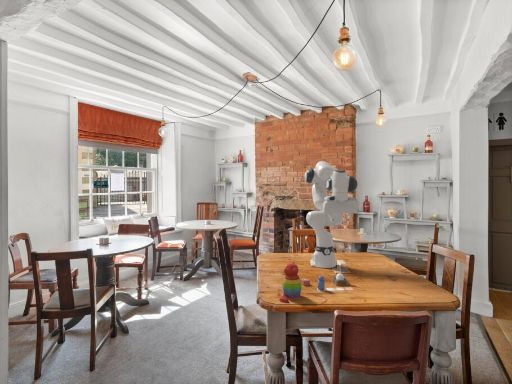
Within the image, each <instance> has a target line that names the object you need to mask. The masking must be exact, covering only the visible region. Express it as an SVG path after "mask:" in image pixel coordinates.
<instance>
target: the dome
mask: <svg viewBox="0 0 512 384" xmlns="http://www.w3.org/2000/svg"><path fill="white" fill-rule="evenodd" d="M335 277H336V280H344V277H345V276H344V274H343V273H340V272H339V273H337V274H336V276H335Z"/></svg>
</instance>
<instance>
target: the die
mask: <svg viewBox="0 0 512 384" xmlns="http://www.w3.org/2000/svg"><path fill="white" fill-rule="evenodd" d="M300 280H301V285H302V287H307V286H310V285H311V280H310V279H309V278H307V277H306V278H305V277H304V278H300Z"/></svg>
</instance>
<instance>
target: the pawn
mask: <svg viewBox="0 0 512 384" xmlns="http://www.w3.org/2000/svg"><path fill="white" fill-rule="evenodd" d="M325 282H326V281H325V278H324V275H319V276H318V278H317V288H318V290H320V291H319V292H325V291H324V290H326V288H325V287H326V286H325V285H326V283H325ZM318 290H317V291H318Z"/></svg>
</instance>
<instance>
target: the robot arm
mask: <svg viewBox="0 0 512 384" xmlns="http://www.w3.org/2000/svg"><path fill="white" fill-rule="evenodd" d="M304 180H305V182H306V184H307V183H308V184H313V185H312V186H311V196H312V201H313V205H314V207H315V208H316V209H317V210H312V211H308V213H306V217H305V221H306V223H307V225H308V226H310V227H311V228H312V229H313V231H314V232H315V239H316V241H315V242H316V245H315V251H314V253H313V254H311V259H310V261H309V262H310V265H311V267H316V268H322V269H331V268H335V267H336V265H337V264H338V263H336V259H337V258H336V253H334V246H333V242H334V239H333V235H332V233H331V232H329V231H328V230H326V229H325V227H337V226H341V225H342V223H343V221H344V217H343V216H344V215H343V214H347V215H348V217H346V222H351V217H352V215H353V214H358V212H359V209H358V208H359V207H358V199H357V198H356V197H349V193H353V192H355V191H356V190H357V188H358V180H357V178H356V177H354V176H353V175H351V176H350V175H349V174H348V172H347V171H346V170H343V169H338V168H336V167H334V166H332V165H331V164H330V163H328V162H327V161H324V160H321V161H318V162H317V163H316V165H315V167H314V168H312V167H311V168H310V169H306V171H305V172H304ZM327 191H328V192H330V193H331V194H330V195H329V194H328V192H327ZM337 266H338V265H337Z"/></svg>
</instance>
